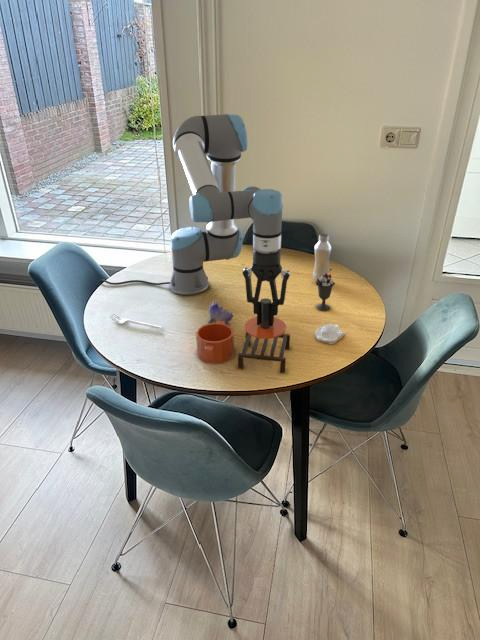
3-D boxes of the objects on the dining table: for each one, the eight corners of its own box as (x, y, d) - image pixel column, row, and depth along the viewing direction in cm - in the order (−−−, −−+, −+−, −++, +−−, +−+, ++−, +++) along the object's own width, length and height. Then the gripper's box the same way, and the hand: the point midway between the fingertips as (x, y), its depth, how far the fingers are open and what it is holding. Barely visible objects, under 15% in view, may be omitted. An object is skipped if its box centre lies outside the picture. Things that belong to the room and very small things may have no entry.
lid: (240, 338, 138) (240, 309, 133) (248, 317, 149) (248, 289, 144) (283, 342, 136) (285, 312, 131) (288, 321, 147) (289, 292, 142)
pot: (190, 366, 144) (189, 345, 140) (204, 336, 158) (203, 317, 155) (227, 370, 142) (227, 349, 138) (238, 340, 156) (238, 320, 153)
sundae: (334, 305, 176) (338, 267, 169) (329, 313, 171) (333, 275, 164) (317, 301, 179) (320, 264, 171) (311, 309, 174) (314, 272, 166)
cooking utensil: (160, 331, 161) (159, 326, 160) (109, 321, 167) (108, 317, 166) (164, 327, 164) (164, 322, 163) (114, 317, 170) (113, 312, 169)
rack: (238, 368, 143) (237, 354, 140) (246, 343, 155) (246, 330, 152) (284, 373, 141) (285, 359, 138) (289, 347, 152) (290, 334, 150)
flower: (214, 319, 155) (224, 295, 160) (195, 322, 160) (205, 299, 165) (231, 336, 160) (240, 312, 165) (212, 338, 166) (221, 315, 171)
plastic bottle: (329, 286, 190) (334, 238, 180) (312, 286, 190) (316, 238, 180) (327, 279, 196) (331, 232, 186) (311, 279, 196) (314, 232, 186)
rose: (348, 333, 151) (317, 333, 151) (347, 345, 153) (316, 345, 153) (343, 317, 159) (314, 317, 160) (342, 329, 162) (313, 329, 162)
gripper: (234, 252, 128) (235, 327, 140) (295, 256, 125) (291, 332, 137) (239, 242, 134) (240, 315, 146) (298, 245, 132) (294, 319, 143)
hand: (265, 323), depth 141 cm, fingers closed on lid, 3 cm apart
